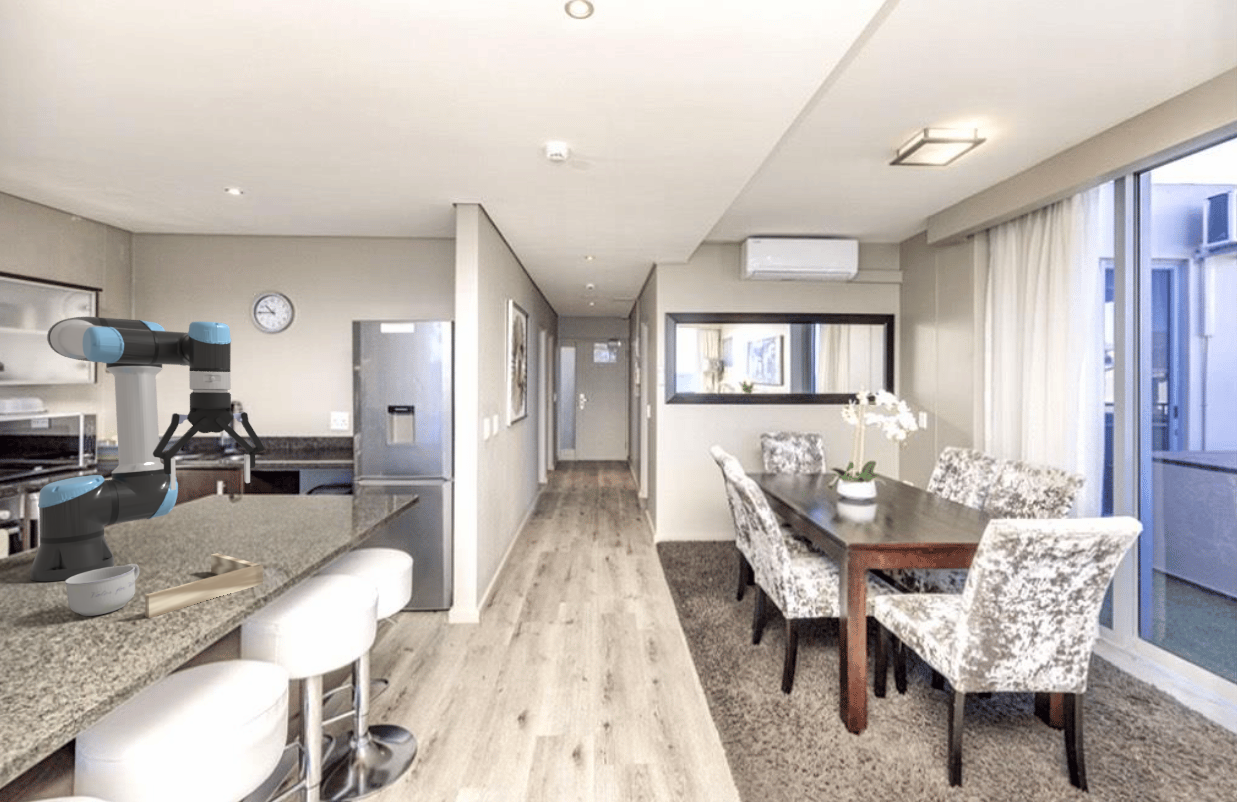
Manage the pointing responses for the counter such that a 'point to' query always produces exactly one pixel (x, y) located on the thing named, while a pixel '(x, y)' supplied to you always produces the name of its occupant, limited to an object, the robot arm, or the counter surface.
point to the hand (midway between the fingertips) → (211, 485)
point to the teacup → (102, 589)
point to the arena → (207, 585)
